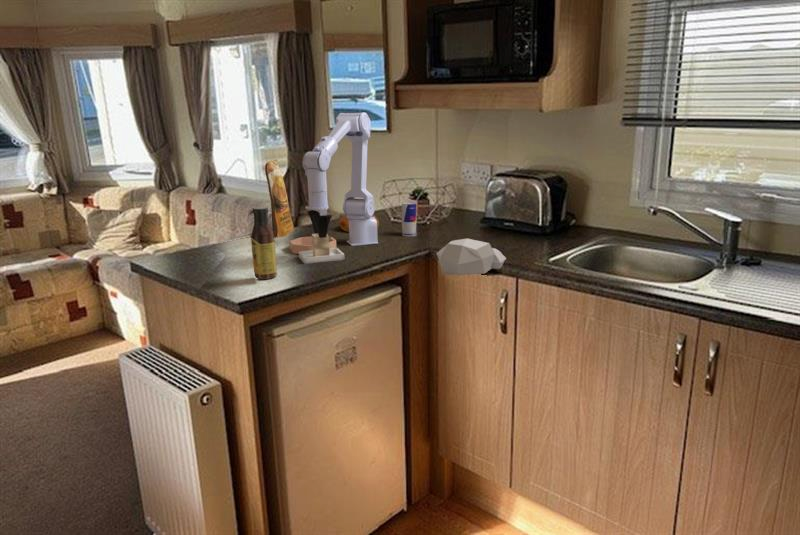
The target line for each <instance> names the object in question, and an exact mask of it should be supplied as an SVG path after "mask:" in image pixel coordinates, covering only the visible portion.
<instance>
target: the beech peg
mask: <svg viewBox="0 0 800 535" xmlns="http://www.w3.org/2000/svg"><path fill="white" fill-rule="evenodd" d="M311 236H312V245H313V256H314V257H317V256H327V255H330V253H329V237H330V236H329V235H328V233H327V236H326V237H324V238H319V235H318V233H311Z"/></svg>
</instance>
